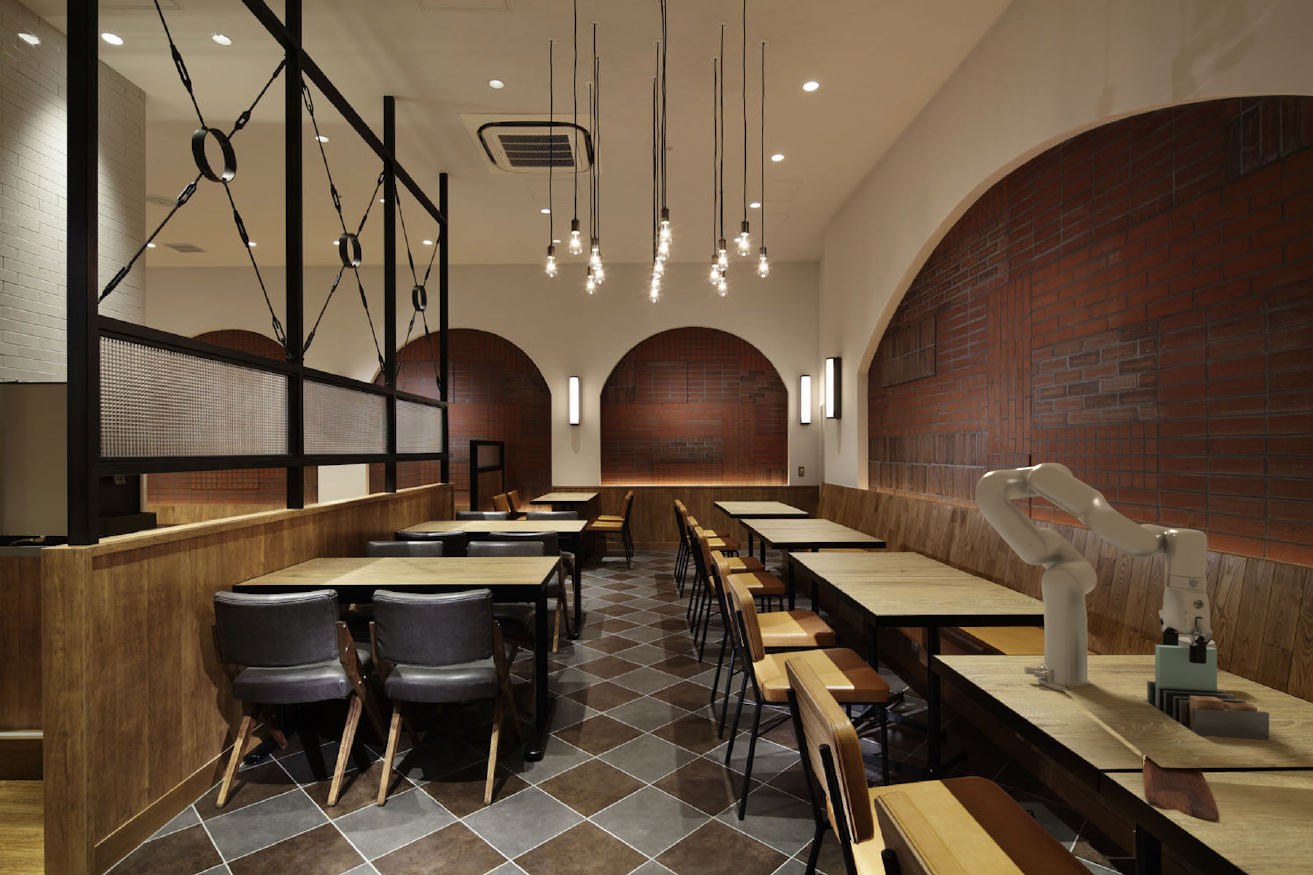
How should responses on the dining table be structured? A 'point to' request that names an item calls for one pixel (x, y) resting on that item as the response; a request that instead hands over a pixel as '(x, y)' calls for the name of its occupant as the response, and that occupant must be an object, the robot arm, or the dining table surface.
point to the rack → (1209, 713)
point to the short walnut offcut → (1238, 706)
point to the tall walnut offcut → (1204, 703)
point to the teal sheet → (1184, 669)
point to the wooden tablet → (1178, 790)
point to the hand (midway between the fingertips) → (1183, 655)
